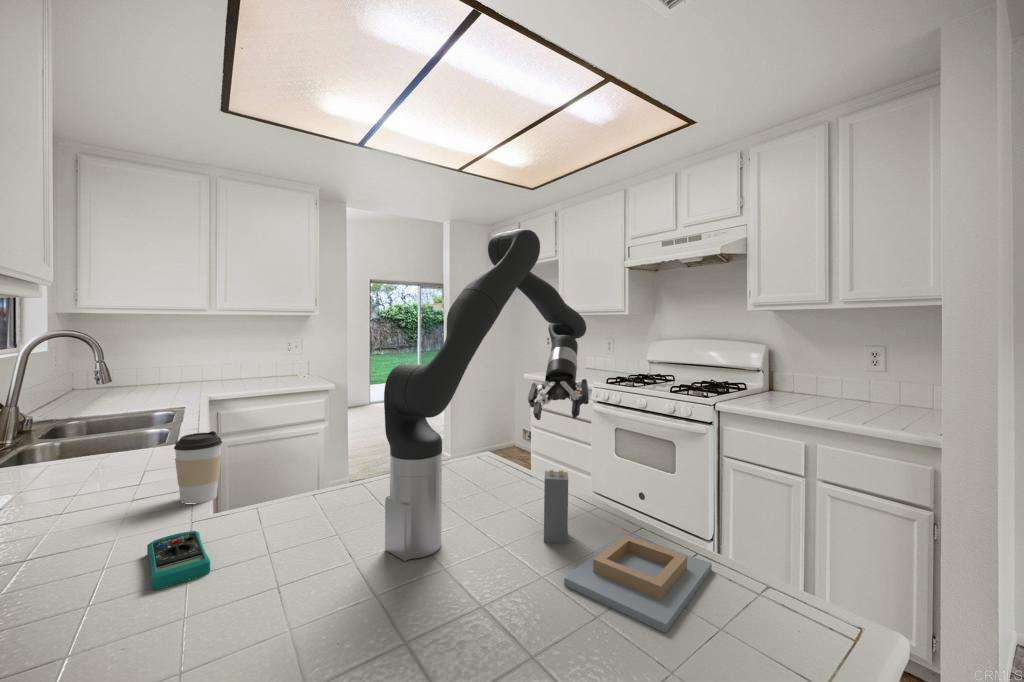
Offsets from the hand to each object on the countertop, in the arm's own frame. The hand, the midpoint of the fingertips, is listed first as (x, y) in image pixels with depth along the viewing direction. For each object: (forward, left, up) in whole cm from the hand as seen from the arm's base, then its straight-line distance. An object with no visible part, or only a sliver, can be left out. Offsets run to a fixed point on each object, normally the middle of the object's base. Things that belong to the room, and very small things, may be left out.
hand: (555, 416), depth 98 cm
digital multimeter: (-63, +33, -21) cm, 74 cm away
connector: (-13, -9, -20) cm, 26 cm away
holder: (-15, -27, -20) cm, 37 cm away
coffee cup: (-53, +63, -20) cm, 84 cm away
